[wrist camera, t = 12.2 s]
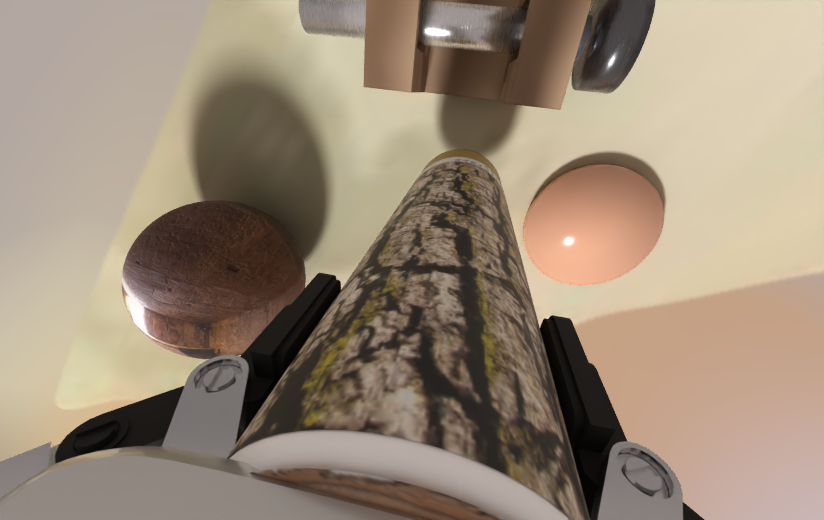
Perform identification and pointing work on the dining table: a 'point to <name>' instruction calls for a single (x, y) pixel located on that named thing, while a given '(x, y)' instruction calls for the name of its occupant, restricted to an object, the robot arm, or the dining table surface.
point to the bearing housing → (476, 54)
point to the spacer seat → (593, 224)
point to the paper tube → (428, 371)
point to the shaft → (507, 32)
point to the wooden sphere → (211, 278)
